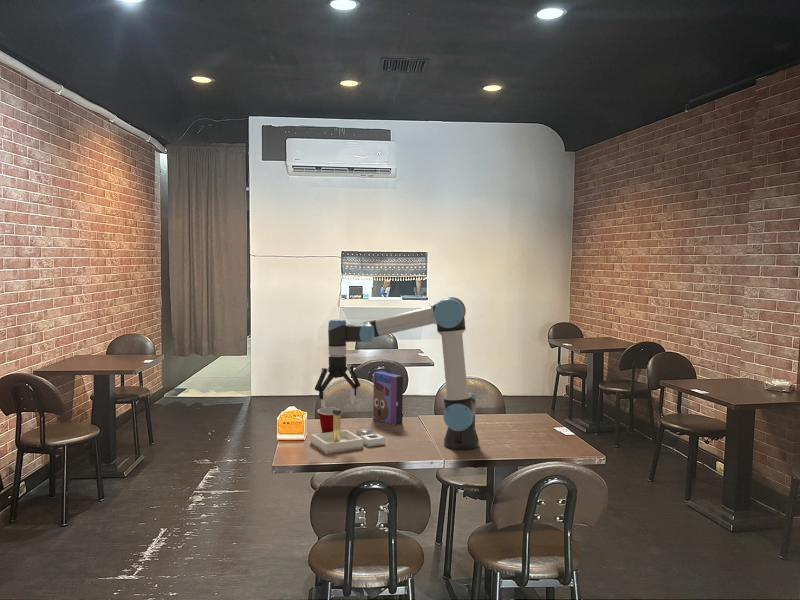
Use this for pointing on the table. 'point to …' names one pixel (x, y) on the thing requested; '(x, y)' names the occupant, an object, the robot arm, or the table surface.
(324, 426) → the plastic cup
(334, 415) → the lock pin
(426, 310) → the robot arm
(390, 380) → the cereal box
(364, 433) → the bracket
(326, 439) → the tray
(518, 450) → the table surface
